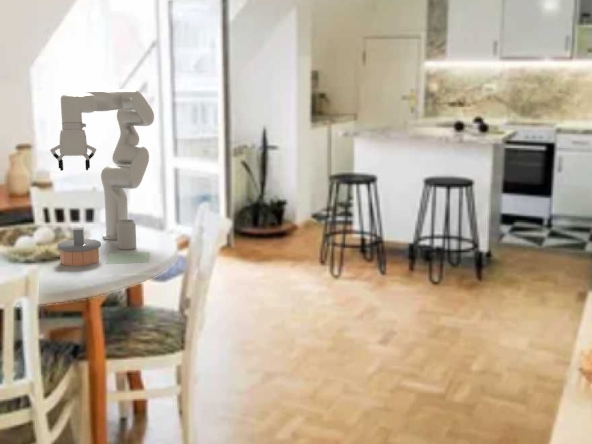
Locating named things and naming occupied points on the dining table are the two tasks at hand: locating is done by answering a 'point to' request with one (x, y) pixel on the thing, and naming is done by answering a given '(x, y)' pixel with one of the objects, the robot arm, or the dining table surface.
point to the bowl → (79, 257)
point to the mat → (127, 257)
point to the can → (126, 234)
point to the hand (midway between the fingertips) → (74, 170)
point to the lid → (79, 242)
